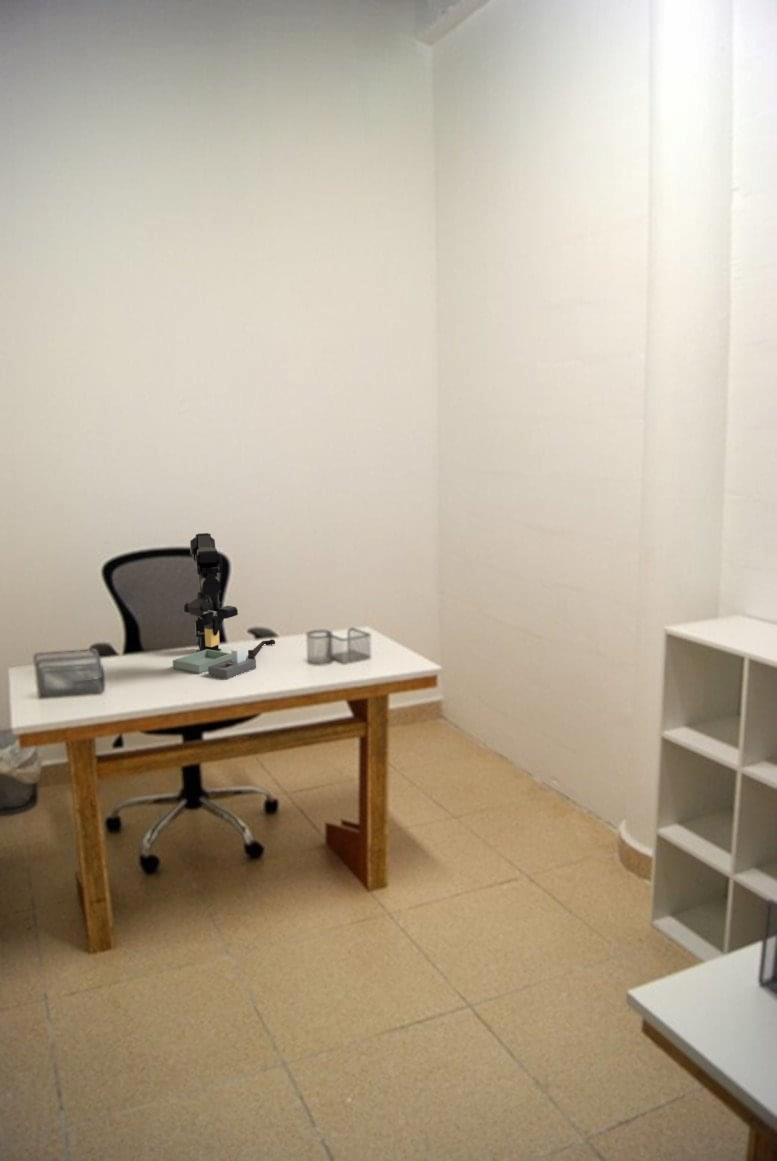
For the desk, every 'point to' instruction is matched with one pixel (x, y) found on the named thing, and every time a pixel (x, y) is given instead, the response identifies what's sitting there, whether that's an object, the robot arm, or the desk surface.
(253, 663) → the fuse block
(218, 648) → the robot arm
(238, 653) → the white rectangular block
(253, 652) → the wrench
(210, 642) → the tan and brown block
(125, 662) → the desk surface
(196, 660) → the parts tray
